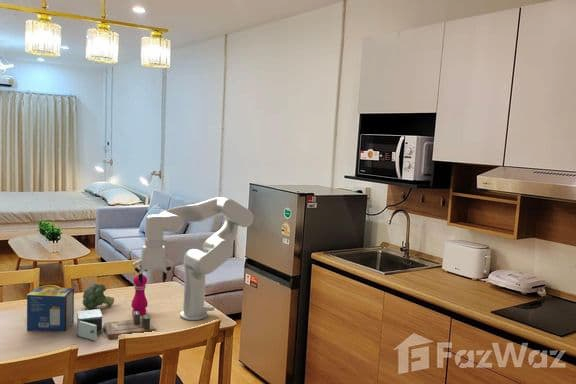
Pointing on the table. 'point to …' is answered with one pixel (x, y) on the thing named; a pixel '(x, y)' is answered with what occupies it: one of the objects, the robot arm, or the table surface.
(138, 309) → the pepper mill
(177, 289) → the table surface
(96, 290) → the vegetable
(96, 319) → the box
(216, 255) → the robot arm
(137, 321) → the fader knob
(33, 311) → the protein box
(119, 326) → the fader board
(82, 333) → the door
